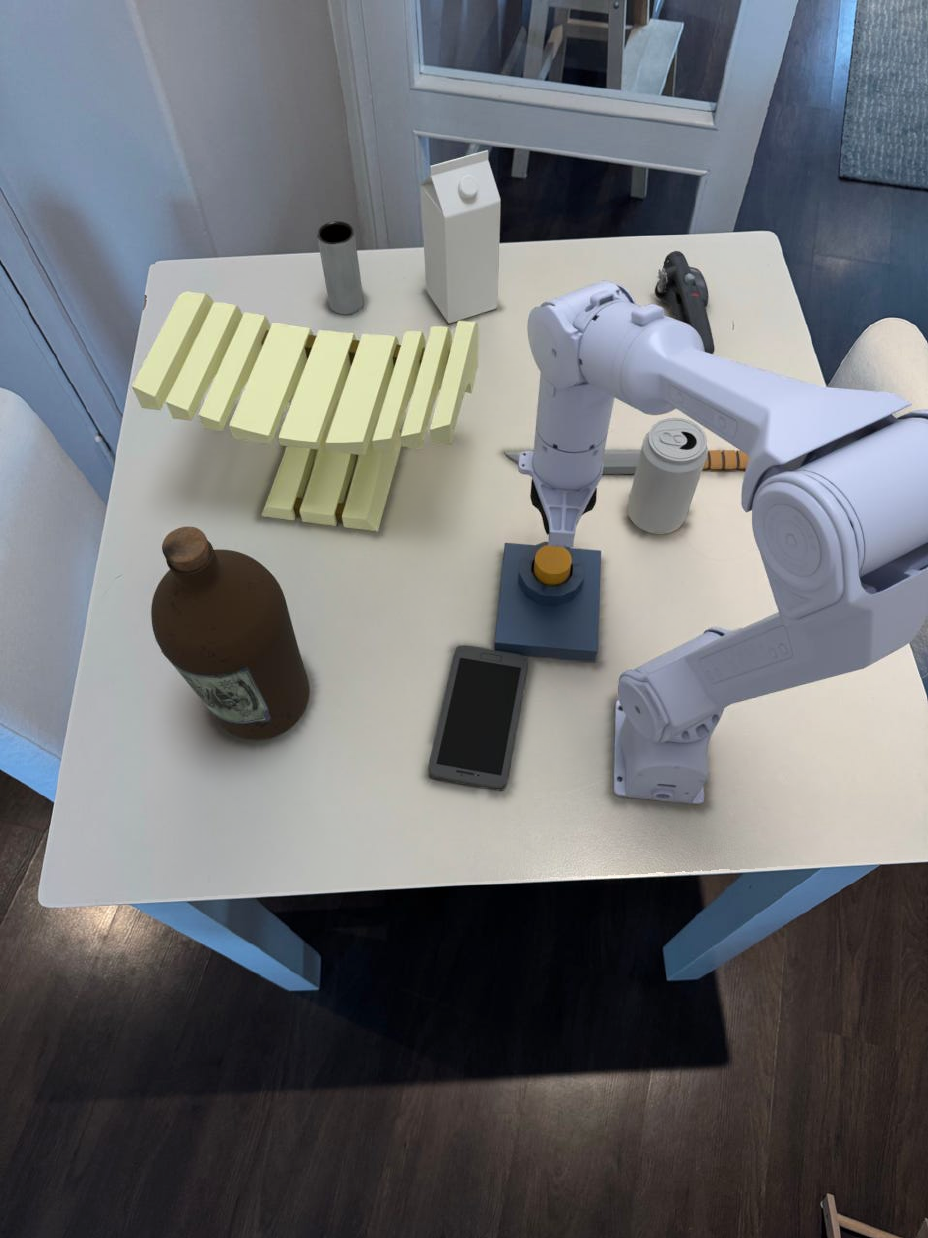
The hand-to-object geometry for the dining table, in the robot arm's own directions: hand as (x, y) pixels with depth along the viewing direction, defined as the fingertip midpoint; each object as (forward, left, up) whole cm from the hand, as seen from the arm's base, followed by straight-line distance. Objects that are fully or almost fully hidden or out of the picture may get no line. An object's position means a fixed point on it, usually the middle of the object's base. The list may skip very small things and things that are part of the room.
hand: (557, 529), depth 78 cm
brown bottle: (-15, +27, -11) cm, 33 cm away
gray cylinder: (+42, +29, -11) cm, 52 cm away
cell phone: (-15, +6, -10) cm, 19 cm away
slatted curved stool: (+14, +25, -11) cm, 31 cm away
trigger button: (0, 0, -7) cm, 7 cm away
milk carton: (+44, +14, -11) cm, 47 cm away
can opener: (+42, -15, -11) cm, 46 cm away
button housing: (-2, 0, -10) cm, 11 cm away
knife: (+18, -9, -11) cm, 23 cm away
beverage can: (+11, -11, -11) cm, 19 cm away
